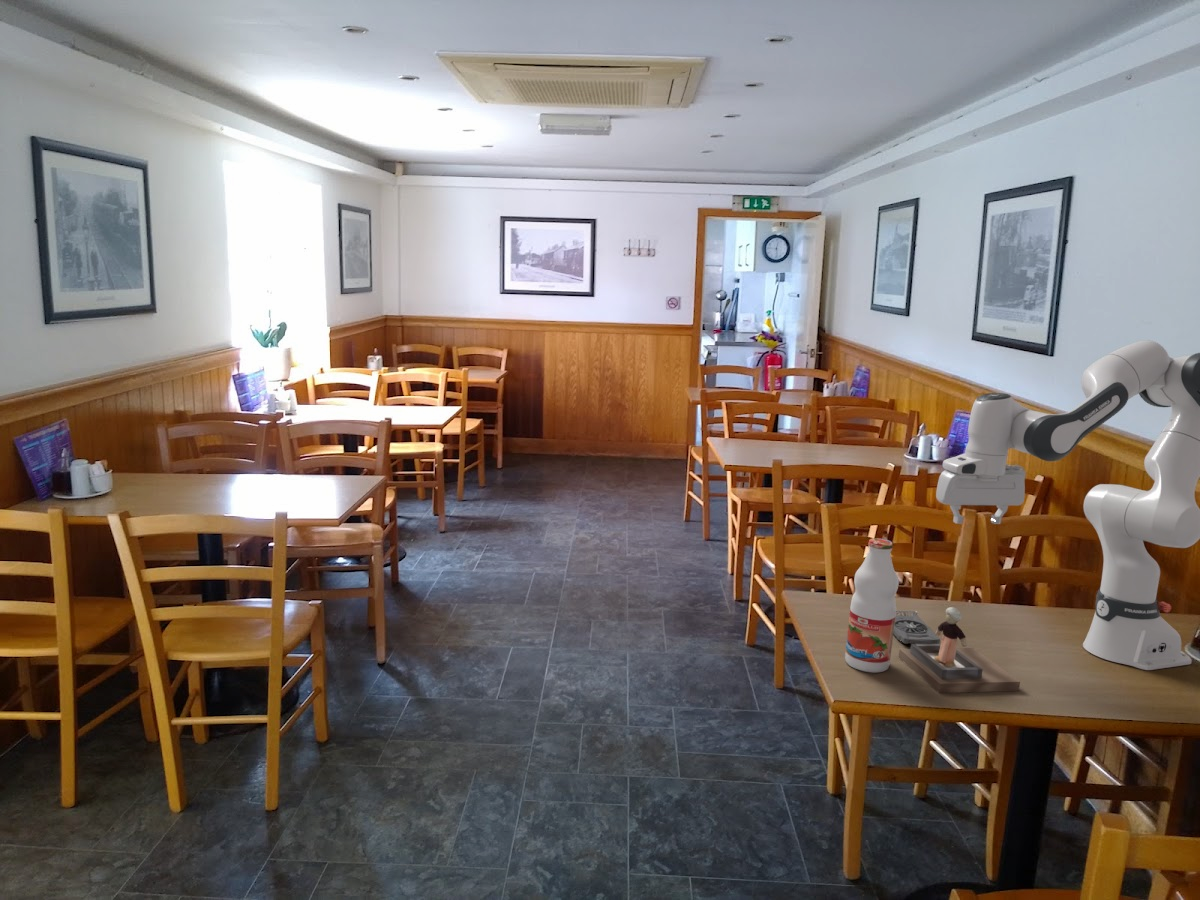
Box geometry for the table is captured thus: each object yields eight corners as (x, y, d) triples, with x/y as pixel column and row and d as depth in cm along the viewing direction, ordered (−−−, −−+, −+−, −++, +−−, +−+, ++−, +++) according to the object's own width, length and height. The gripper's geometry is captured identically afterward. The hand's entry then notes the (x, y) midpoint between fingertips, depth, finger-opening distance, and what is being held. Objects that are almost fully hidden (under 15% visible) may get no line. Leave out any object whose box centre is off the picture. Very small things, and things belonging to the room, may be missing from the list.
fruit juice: (897, 666, 189) (912, 543, 183) (874, 677, 182) (889, 550, 177) (859, 651, 195) (873, 532, 190) (836, 662, 189) (849, 539, 184)
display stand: (972, 656, 196) (974, 639, 195) (1018, 690, 180) (1021, 672, 179) (898, 657, 193) (900, 640, 193) (938, 692, 177) (941, 674, 176)
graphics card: (869, 608, 215) (917, 609, 215) (868, 622, 215) (915, 623, 216) (892, 636, 198) (944, 637, 198) (891, 651, 199) (943, 652, 199)
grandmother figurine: (925, 659, 187) (932, 604, 185) (934, 655, 190) (942, 600, 187) (958, 672, 181) (966, 615, 179) (968, 668, 184) (976, 612, 181)
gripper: (1017, 462, 201) (1009, 519, 203) (936, 460, 198) (929, 519, 200) (1035, 468, 195) (1026, 527, 197) (951, 466, 191) (943, 526, 194)
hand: (976, 523), depth 199 cm, fingers open, 8 cm apart
